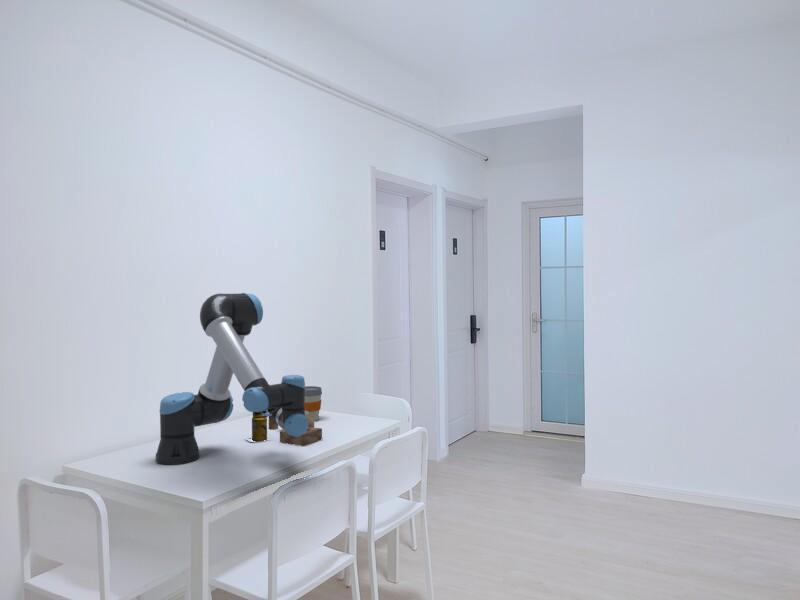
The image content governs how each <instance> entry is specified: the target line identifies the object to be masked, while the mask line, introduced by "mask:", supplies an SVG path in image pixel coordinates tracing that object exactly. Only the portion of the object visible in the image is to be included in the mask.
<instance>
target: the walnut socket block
mask: <svg viewBox="0 0 800 600" xmlns="http://www.w3.org/2000/svg"><path fill="white" fill-rule="evenodd" d="M321 439H322V440H323V429H322V428H320V427H315V426H314V427H308V429H307V431H306V432H305V433H304V434H303V435H301V436H298V437H295V436H291V435H289V434H287V433H286V432H285V430H283V429H282V430H279V443H280V442H281V443H280V444H286V443H288V445H292V444H295V445H294V446H299V445H301V446H300V447H305V445H306V446H308V445H311V444H314V443H316V441H317V442H319V441H322V440H321ZM318 440H319V441H318ZM313 442H314V443H313ZM310 443H311V444H310ZM307 444H308V445H307Z"/></svg>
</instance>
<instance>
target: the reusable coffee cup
mask: <svg viewBox="0 0 800 600" xmlns="http://www.w3.org/2000/svg"><path fill="white" fill-rule="evenodd" d="M322 391H323V390H322V387H321V386H315V385H314V386H313V385H312V386H311V385H310V386H309V385H307V386H306V385H305V411H307V412H309V414H308V417H314V421H315V422H318V421H319V417H320V410H321V406H322V394H323V393H322ZM317 420H318V421H317Z"/></svg>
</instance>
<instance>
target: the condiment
mask: <svg viewBox="0 0 800 600" xmlns="http://www.w3.org/2000/svg"><path fill="white" fill-rule="evenodd" d="M251 438H252V440H253V441H262V442H265V441H264V440H267V439H268V417H266V418H262V415H261V413H260V411H259V412H252V418H251V437H250V438H248V439H251Z"/></svg>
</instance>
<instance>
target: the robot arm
mask: <svg viewBox="0 0 800 600" xmlns="http://www.w3.org/2000/svg"><path fill="white" fill-rule="evenodd" d="M263 317H264V309H263V304H262V302H261V301H260V298H259V297H257V296H256V295H255V294H253V293H245V292H242V293H215V294H212V295H211V296H209V297H207V298H206V299H205V301H204V302H203V303H202V305H201V308H200V312H199V322H200V324H201V325H200V326H201V328H202V329H203V331H204V333H205V334H206V336H207V337H209V338H211V339H212V340H213V342H214V343H215V345H216V347H215V349H214V350H215V351H214V353H213V357H212V359H211V360H212V361H211V363H210V366H209V370H208V374H207V377H206V380H205V383H202V384H200V386H199V388H198V392H197V394H194V392H192V391H183V392H176V393H172V394H168V395H166V396H164V397H163V398H161V400H160V404H159V405H160V406H159V422H160V424H159V425H160V426H159V427H160V430H159V431H160V434H159V435H160V437H159V439H160V440H159V443H158V447H157V451H156V453H155V462H156V463H157V464H160V465H181V464H186V463H192V462H195V461H197V460H199V459H200V457H201V454H200V453H201V451H200V448H199V446H198V443H197V440H196V436H195V428H197V427H201V426H205V425H210V424H218V423H220V422H223V421H226V420H227V419H228V418H229V417H230V416H231V415H232V413H233V411H234V410H233V409H234V403H233V402H234V399H233V396H232V394H231V390H230V389H229V387H230V385H231V381H232V378H233V375H234V376H235V378H236V379H237V381H238V383H239V384H240V386H241V387H242V389H243V391H244V392H243V394H242V402H243V405H242V406H243V407H244V409H245V410H246V411H248V412H250V413H253V412H259V411H260V413H261V415H262V418H266V417H267V418H269V416H270V417H271V418H273V420H274V421H275V423H276V424H277V425H278V427H280V428H281V429H282V431H283V430H285V432H286V433H287V434H289V435H291V436H295V437H298V436H301V435H303V434H304V433H305V432H306V431H307V429H308V420H307V418H306V417H305V386H306V382H305V377H304V376H302V375H299V374H287V375H283V376H282V377H281V378H282V379H281V381H280V382H281V383H275V384H269V383H268V381H267V380H266V378H265V376H264V375H263V373H262V372H261V370H260V369H259V367H258V366H257V363H256V362H255V360H254V358H253V357H252V355H251V354H250V352H249V351H248V349H247V347H246V346H245V344H244V341H245V337H246V336H249V335H250V334H251V333H252V329H253V326H257V325H258V324H259V325H260V323H261V322H262V321H263Z"/></svg>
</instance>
